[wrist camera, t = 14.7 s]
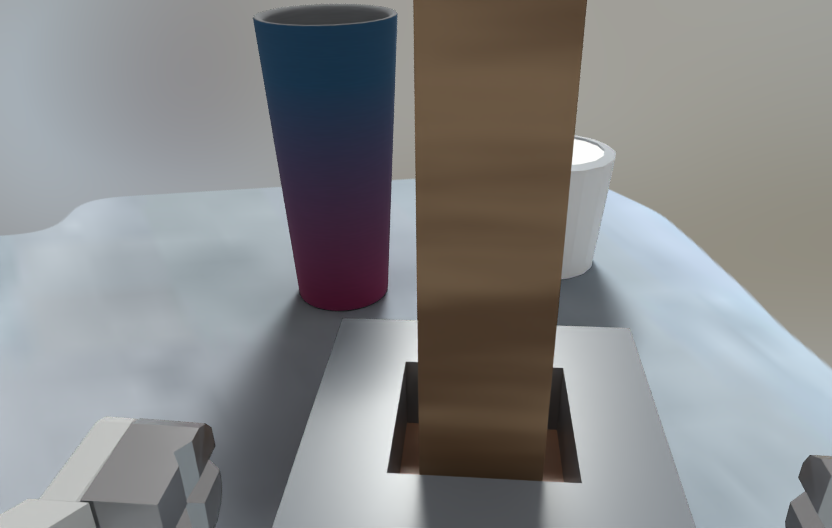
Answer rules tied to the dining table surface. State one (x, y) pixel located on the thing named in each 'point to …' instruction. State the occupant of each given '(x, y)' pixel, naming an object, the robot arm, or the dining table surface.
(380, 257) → the cup
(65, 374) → the dining table surface
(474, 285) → the block
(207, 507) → the robot arm
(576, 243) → the shot glass
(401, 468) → the end cap
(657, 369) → the dining table surface
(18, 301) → the dining table surface
